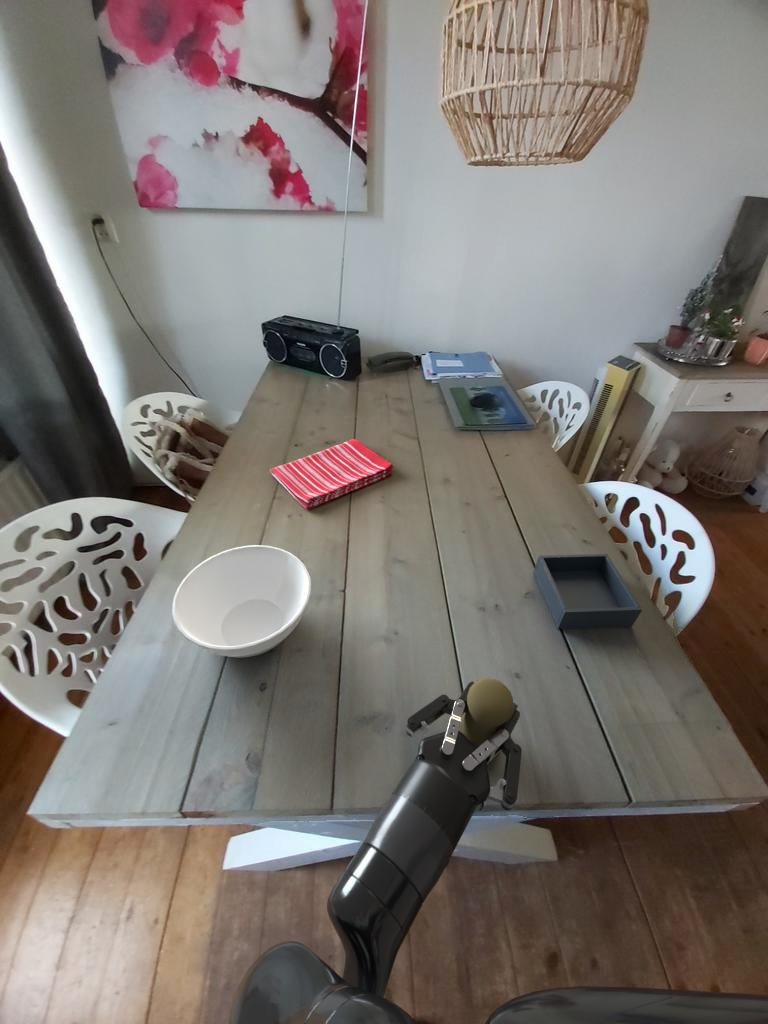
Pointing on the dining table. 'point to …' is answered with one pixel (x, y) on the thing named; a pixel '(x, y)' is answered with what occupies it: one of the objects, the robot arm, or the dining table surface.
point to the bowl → (242, 600)
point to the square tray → (585, 591)
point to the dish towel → (332, 473)
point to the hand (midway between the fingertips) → (496, 695)
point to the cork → (486, 710)
